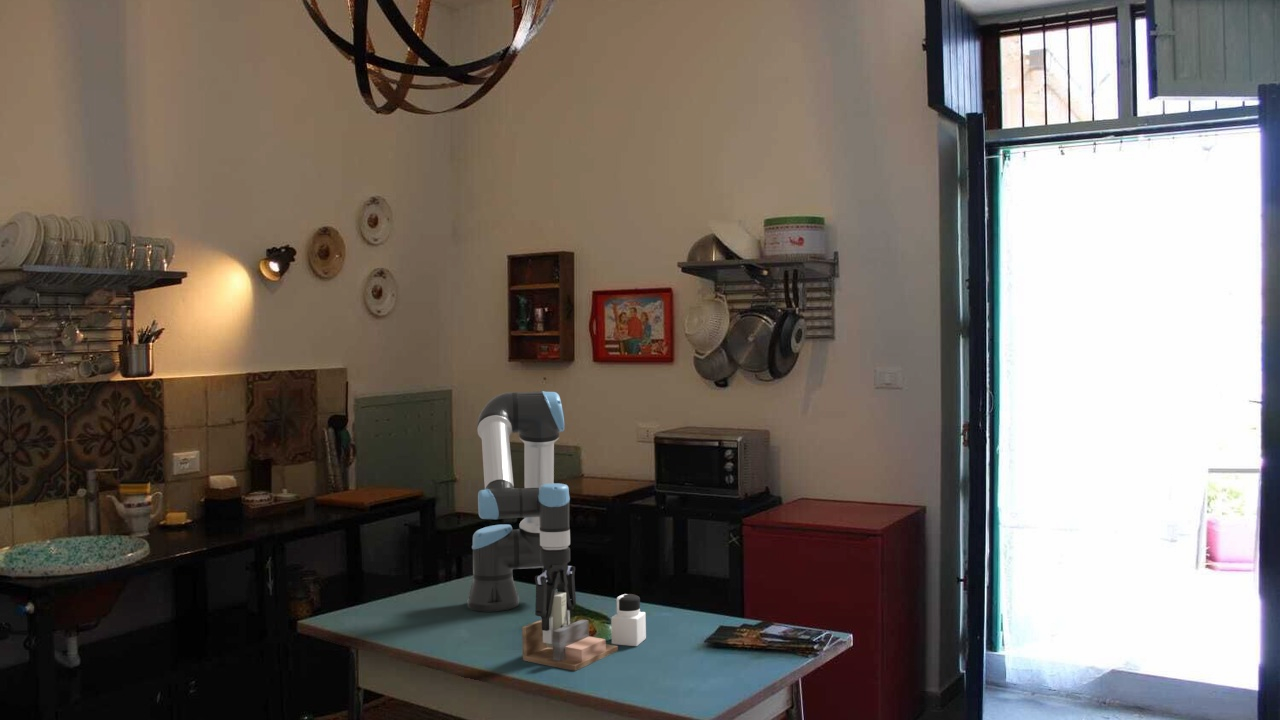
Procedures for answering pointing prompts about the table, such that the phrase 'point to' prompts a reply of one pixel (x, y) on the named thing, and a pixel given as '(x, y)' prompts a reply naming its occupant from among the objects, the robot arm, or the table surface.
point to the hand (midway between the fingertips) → (556, 639)
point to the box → (559, 612)
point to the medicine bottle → (628, 621)
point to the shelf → (547, 653)
